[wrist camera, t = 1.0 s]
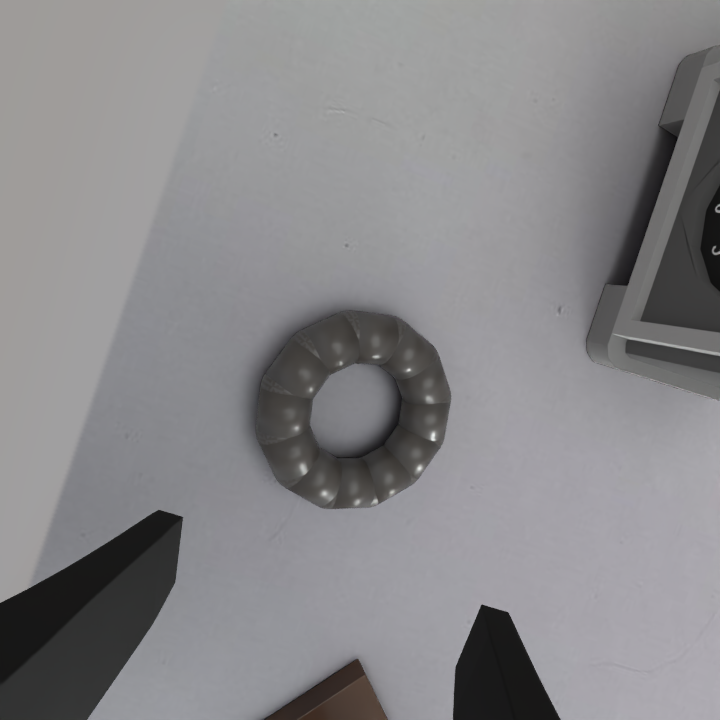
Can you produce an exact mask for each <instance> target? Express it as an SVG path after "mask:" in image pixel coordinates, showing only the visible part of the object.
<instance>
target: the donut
mask: <svg viewBox="0 0 720 720" xmlns="http://www.w3.org/2000/svg"><path fill="white" fill-rule="evenodd" d="M354 363H362V364H375V365H379V366H380V367H382V368H383V369H384V370H386V371H387V372H388V373H389V374H391V375H392V376H393V377H395V380H396V382H397V385H398V388H399V391H400V393H401V396H402V405H401V411H400V417H399V423H398V425H397V427H396V428H395V429H394V431H393V432H392V434H391V435H390V436H389V438H388V439H387V441H386V442H385V443H384V445H383V446H381V447H380V448H378V449H376V450H374V451H372V452H370V453H368V454H367V455H365V456H363V457H361V458H336V457H334V456H333V455H331V454H330V453H328V452H327V451H325V450H323V449H322V448H320V447H319V446H318V444H317V441H316V439H315V437H314V435H313V432H312V430H311V428H310V417H311V410H312V402H313V398H314V397H315V395H316V394H317V392H318V391H319V390H320V388H321V387H322V386H323V384H324V383H325V381H326V380H327V379H328V377H329V376H330V375H331V374H333V373H335V372H337V371H339V370H341V369H343V368H345V367H347V366H349V365H352V364H354ZM450 402H451V392H450V388H449V385H448V382H447V379H446V376H445V373H444V370H443V367H442V364H441V361H440V357H439V355H438V352H437V350H436V349H435V348H434V346H433V345H432V344H431V343H429V342H428V341H427V340H426V339H425V338H423V337H422V336H421V335H420V334H419V333H417V332H416V331H415V330H414V329H413V328H412V327H410V326H409V325H408V324H407V323H406V322H404V321H403V320H402V319H400V318H398V317H396V316H392V315H384V314H376V313H368V312H359V311H343V312H340V313H338V314H335V315H333V316H331V317H329V318H327V319H324V320H322V321H320V322H318V323H316V324H313V325H311V326H309V327H307V328H305V329H302V330H301V331H299V332H297V333H296V334H295V335H294V336H293V337H292V338H291V339H290V340H289V342H288V343H287V345H286V346H285V347H284V349H283V350H282V351H281V353H280V354H279V355H278V357H277V358H276V360H275V361H274V362H273V364H272V365H271V366H270V368H269V369H268V370H267V372H266V373H265V375H264V377H263V379H262V382H261V387H260V395H259V404H258V412H257V421H256V437H257V440H258V442H259V444H260V447H261V449H262V451H263V453H264V455H265V457H266V459H267V461H268V463H269V465H270V467H271V469H272V472H273V474H274V476H275V477H276V479H277V481H278V482H279V483H280V484H281V485H282V486H284V487H285V488H287V489H289V490H290V491H292V492H294V493H296V494H297V495H299V496H301V497H302V498H304V499H306V500H308V501H309V502H311V503H313V504H315V505H316V506H318V507H321V508H324V509H343V508H369V507H373V506H376V505H378V504H380V503H381V502H383V501H385V500H387V499H388V498H390V497H392V496H394V495H395V494H397V493H399V492H401V491H402V490H404V489H406V488H408V487H409V486H411V485H412V484H414V483H415V482H416V481H417V480H418V479H419V477H420V476H421V474H422V473H423V472H424V470H425V469H426V467H427V466H428V464H429V463H430V462H431V460H432V459H433V457H434V456H435V454H436V453H437V452H438V450H439V449H440V447H441V445H442V444H443V441H444V437H445V431H446V426H447V420H448V414H449V408H450Z"/></svg>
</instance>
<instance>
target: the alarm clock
mask: <svg viewBox="0 0 720 720" xmlns="http://www.w3.org/2000/svg"><path fill="white" fill-rule="evenodd" d="M659 126H660V127H662V128H664V129H665V130H667V131H669V132H670V133H672V134H674V135H675V136H677V137H678V140H677V143H676V146H675V149H674V152H673V155H672V158H671V161H670V163H669V166H668V169H667V172H666V175H665V178H664V181H663V184H662V187H661V190H660V193H659V196H658V199H657V202H656V205H655V208H654V211H653V213H652V216H651V219H650V222H649V225H648V228H647V231H646V234H645V237H644V240H643V243H642V246H641V249H640V252H639V255H638V258H637V261H636V263H635V266H634V269H633V272H632V275H631V278H630V281H629V284H628V286H622V285H608V284H605V287H604V290H603V293H602V296H601V299H600V302H599V305H598V308H597V311H596V314H595V317H594V320H593V323H592V326H591V329H590V332H589V335H588V338H587V341H586V343H587V353H588V354H589V356H590V357H591V359H592V360H593V362H596V363H599V364H602V365H605V366H608V367H612V368H615V369H618V370H621V371H624V372H627V373H630V374H634V375H637V376H640V377H643V378H646V379H649V380H653V381H656V382H659V383H662V384H665V385H668V386H672V387H675V388H678V389H681V390H684V391H687V392H690V393H694V394H697V395H700V396H703V397H706V398H710V399H713V400H717V401H720V45H718V46H713V47H711V48H708V49H705V50H703V51H700V52H697V53H694V54H692V55H689V56H687V57H686V58H685V59H684V60H683V61H682V62H681V63H680V64H679V67H678V70H677V73H676V76H675V79H674V82H673V85H672V88H671V91H670V94H669V97H668V100H667V103H666V106H665V109H664V112H663V115H662V118H661V120H660V123H659Z"/></svg>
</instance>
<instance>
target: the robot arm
mask: <svg viewBox="0 0 720 720" xmlns="http://www.w3.org/2000/svg"><path fill="white" fill-rule="evenodd" d="M182 521H183V517H181V516H178V515H174V514H171V513H168V512H164V511H161V510H158V511H156V512H154V513H152V514H151V515H149V516H148V517H146V518H145V519H143V520H142V521H140V522H139V523H137V524H135V525H134V526H132V527H131V528H129V529H128V530H126V531H125V532H123V533H122V534H120V535H119V536H117V537H115V538H114V539H112V540H111V541H109V542H108V543H106V544H104V545H103V546H101V547H100V548H98V549H96V550H95V551H93V552H91V553H90V554H88V555H87V556H85V557H83V558H82V559H80V560H78V561H77V562H75V563H73V564H72V565H70V566H68V567H67V568H65V569H63V570H61V571H59V572H58V573H56V574H54V575H52V576H50V577H49V578H47V579H45V580H43V581H41V582H40V583H38V584H36V585H34V586H33V587H31V588H29V589H27V590H25V591H23V592H21V593H19V594H17V595H15V596H13V597H11V598H10V599H7V600H5V601H4V602H1V603H0V720H87V719H88V717H89V716H90V715H91V713H92V712H93V710H94V709H95V707H96V706H97V704H98V703H99V702H100V700H101V699H102V697H103V696H104V694H105V693H106V691H107V690H108V689H109V687H110V686H111V684H112V683H113V681H114V680H115V678H116V677H117V676H118V674H119V673H120V671H121V670H122V668H123V667H124V665H125V664H126V663H127V661H128V660H129V658H130V657H131V655H132V654H133V652H134V651H135V649H136V648H137V646H138V645H139V644H140V642H141V641H142V639H143V638H144V636H145V635H146V633H147V632H148V630H149V629H150V627H151V626H152V624H153V623H154V621H155V619H156V617H157V615H158V614H159V612H160V610H161V608H162V606H163V604H164V603H165V601H166V599H167V597H168V595H169V593H170V591H171V589H172V587H173V585H174V584H175V580H176V571H177V563H178V554H179V546H180V538H181V529H182ZM453 720H560V718H559V716H558V714H557V712H556V710H555V708H554V706H553V704H552V702H551V700H550V698H549V696H548V694H547V693H546V691H545V689H544V687H543V685H542V683H541V681H540V679H539V677H538V675H537V672H536V670H535V668H534V666H533V664H532V662H531V660H530V658H529V656H528V654H527V651H526V649H525V647H524V645H523V643H522V641H521V638H520V636H519V634H518V632H517V630H516V628H515V625H514V623H513V621H512V619H511V617H510V615H509V613H508V612H505V611H502V610H498V609H495V608H491V607H488V606H485V605H481V607H480V610H479V612H478V615H477V617H476V619H475V622H474V624H473V627H472V629H471V631H470V634H469V636H468V639H467V641H466V643H465V646H464V648H463V651H462V653H461V655H460V658H459V660H458V663H457V665H456V670H455V687H454V708H453Z"/></svg>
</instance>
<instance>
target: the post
mask: <svg viewBox="0 0 720 720" xmlns="http://www.w3.org/2000/svg"><path fill="white" fill-rule="evenodd" d="M265 720H388V719H387V717H386V715H385V713H384V711H383V709H382V707H381V705H380V703H379V701H378V699H377V696H376V694H375V692H374V690H373V688H372V686H371V684H370V682H369V680H368V678H367V676H366V674H365V672H364V670H363V668H362V666H361V664H360V662H359V660H358V659H357V660H355V661H354V662H352V663H351V664H349V665H348V666H346V667H345V668H343V669H342V670H340V671H338V672H337V673H335V674H334V675H332V676H331V677H329V678H328V679H326V680H325V681H323V682H322V683H320V684H319V685H317V686H315V687H314V688H312V689H311V690H309V691H308V692H306V693H305V694H303V695H302V696H300V697H299V698H297V699H296V700H294V701H292V702H291V703H289V704H288V705H286V706H285V707H283V708H282V709H280V710H279V711H277V712H276V713H274V714H273V715H271V716H269V717H268V718H266V719H265Z"/></svg>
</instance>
